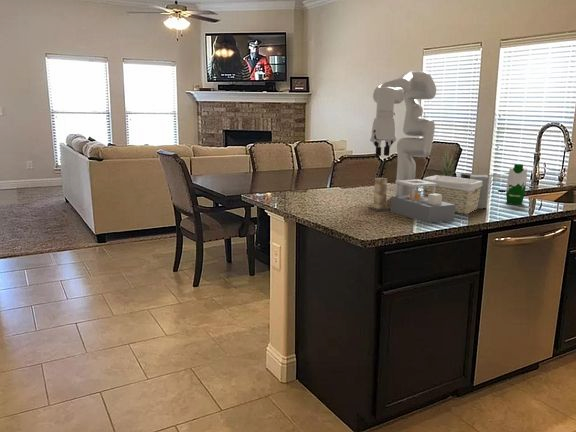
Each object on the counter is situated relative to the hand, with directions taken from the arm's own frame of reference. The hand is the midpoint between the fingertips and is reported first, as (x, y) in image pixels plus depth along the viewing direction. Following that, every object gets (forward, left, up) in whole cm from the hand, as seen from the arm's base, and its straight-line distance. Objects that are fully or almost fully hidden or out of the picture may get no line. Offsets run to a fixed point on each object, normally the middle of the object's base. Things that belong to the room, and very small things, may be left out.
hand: (382, 155), depth 233 cm
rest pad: (0, 0, -25) cm, 25 cm away
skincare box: (-48, +13, -25) cm, 56 cm away
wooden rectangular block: (0, 0, -25) cm, 25 cm away
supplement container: (-69, -14, -25) cm, 75 cm away
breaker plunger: (-9, +14, -24) cm, 29 cm away
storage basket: (-32, +12, -26) cm, 43 cm away
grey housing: (-9, +19, -25) cm, 33 cm away
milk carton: (-76, +11, -25) cm, 81 cm away
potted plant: (-73, -36, -25) cm, 85 cm away
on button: (-9, +27, -21) cm, 36 cm away
